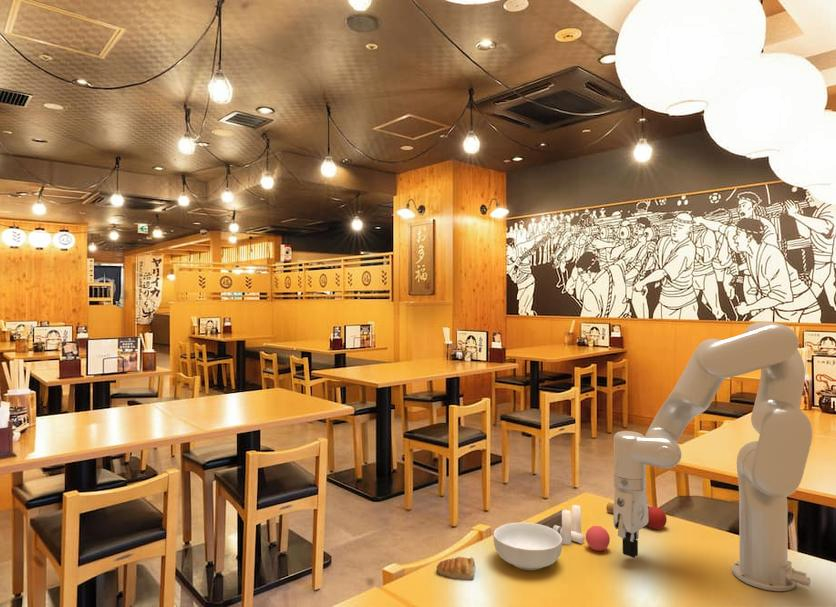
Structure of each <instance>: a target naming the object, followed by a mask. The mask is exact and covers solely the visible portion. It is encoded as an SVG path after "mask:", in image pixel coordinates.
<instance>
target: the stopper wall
mask: <svg viewBox="0 0 836 607" xmlns="http://www.w3.org/2000/svg"><path fill="white" fill-rule="evenodd" d="M562 510H563V509H562ZM562 510H559V511H557V512H554V513H553V514H551V515H549V516H547V517H545V518H543V519H541V520H539V521H536V522H535V524H540V525H544V526H547V527H550V528H552V529H553V526H554V525H557V526H560V527H562Z"/></svg>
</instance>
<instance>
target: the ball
mask: <svg viewBox="0 0 836 607" xmlns="http://www.w3.org/2000/svg"><path fill="white" fill-rule="evenodd" d="M610 538H611V537H610V535H609V532H608V531H607V530H606V529H605V528H604V527H603V526H600V525H592V526H590V527H589V528H588V529H587V531H586V533H585V540H586V543H587V545H588V546H589V548H591V549H593V550H595V551H600V552H601V551H604V550H606V549H607V548H608V547H609V545H610V541H611V540H610Z"/></svg>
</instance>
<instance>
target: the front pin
mask: <svg viewBox="0 0 836 607" xmlns="http://www.w3.org/2000/svg"><path fill="white" fill-rule="evenodd" d="M553 529H554V530H556V531H557V532H558V533H559V534H560V535H561V537H562V527H560V526H557V525H554V526H553ZM585 540H586V536H585V534H583V533H581V534H580V533H577V532H574V531H572V530H571V542H572V541H573V542H576V543H578V544H581V545H583V544H584V542H585Z"/></svg>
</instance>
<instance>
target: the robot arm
mask: <svg viewBox="0 0 836 607" xmlns="http://www.w3.org/2000/svg"><path fill="white" fill-rule="evenodd" d="M758 370H760V378H759V383H758V384H759V385H758V388H757V393H756V397H755V401H754V405H753V408H752V411H751V416H750V422H751V425H752V427H753V429H754V430H755V431H756V432H757V433H758V434H759V436H758V440H756V441H750V442H748V443H745V444H744V445H743V446H742V447H741V448H740V450H739V451H738V454H737V457H736V470H737V471H736V472H737V482H738V494H739V495H738V498H739V502H738V503H739V504H738V505H739V507H738V508H739V510H738V512H739V513H738V515H739V518H738V519H739V520H738V521H739V528H738V529H739V534H738V535H739V560H738V561H736V562H734V563H733V564H732V565H731V567H732V568H731V570H732V571H731V572H732V573H733V576H735V577H736V578H737V579H738V580H740V581H741V582H743V583H745V584H747V585H749V586H752V587H754V588H758V589H761V590H766V591H772V592H787V591H791V590H793V589H794V588H796V586H797V583H798V584H799V585H802V586H806V587H808V588H809V587H810V586H811V577H809V576H807V572H804V571H801V570H796V569H795V568H793V567H792V561H790V560H788V558H789V557H788V556H789V555H788V554H789V552H788V551H789V550H788V545H789V544H788V516H789V515H788V498H787V497H789V496H790V495H792V494H794V493H795V492H796V491H797V490H798V489H799V487H800V485H801V482H802V480H803V477H804V474H805V473H804V472H805V468H806V465H807V461H808V458H809V453H810V449H811V445H812V440H813V426H812V424H811V421H810V420H811V419H810V418H809V417H808V415H807V414H806V413H804V411H802V410H801V409H800V408H801V402H802V399H803V393H804V388H805V380H806V368H805V363H804V361H803V357H802V355H801V353H800V352H799V337H798V336H797V333H796V332H795V331H794V330H793V329H792V328H790V327H789V326H787V325H786V324H782V323H777V322H771V321H757V322H754V323H752V324H750V325H748V327H746V329H745V330H744V332H743V333H741V334H738V335H735V336H733V337H728V338H726V339H719V338H709V339H708V338H707V339H705V340H703V341H701V342H700V343H699V344H698V345H697V347H696V348H695V350H694V352H692V354H691V357H690V359H689V361H688V362H687V364H686V366H685V368H684V370H683V372H681V373H682V374H681V375H680V377H679V379H678V380H677V382H676V384H675V385H674V388H673V389H672V390H671V392H670V394H669V395H668V396H667V398H666V400H665V401H664V402H663V404H662V405H661V407H660V408H659V410H658V411H657V413H656V414H655V416H654V418H653V420H652V422H651V424H650V425H649V427H648V429H647V430H646V433H645V435H643V434H642V433H640V432H637V431H631V430H621V431H617V432H616V433H614V435H613V488H614V489H615V491H614V496H613V497H614V498H613V504H614V513H612V514H613V517H612V518H613V526H614V528H615V529H616V530H617V537H619V538H621V539H622V554H623V555H624V556H628V557H631V558H636V557H638V555H639V549H638V548H639V545H638V544H639V540H638V539H639V533H640V530H641V529H643V528H644V527H646V526H648V525H647V524H648V504H649V502H648V494H647V476H646V475H647V472H646V471H647V470H646V469H647V468H646V467H647V466H651V467H656V468H660V469H661V468H662V469H671V468H674V467H676V466H677V465H678V464H679V463H680V462H681V460H682V450H681V447H680V445H679V444H678V442H679V440H680V438H681V436H682V434H683V433H684V431H685V429H686V427H687V426H688V425H689V424H690V422H691V421H692V420H693V419H695V418H696V417H697V416H699V415H700V414H702V413H704V412H706V411H707V409H709V407H710V406H711V404H712V402H713V401H714V399H715V396H716V395H717V393H718V391H719V390H720V388H721V386H722V384H723V382H724V380H726V379H730V378H734V377H737V376H741V375H745V374H746V375H747V374H748V373H752V372H755V371H758Z"/></svg>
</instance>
